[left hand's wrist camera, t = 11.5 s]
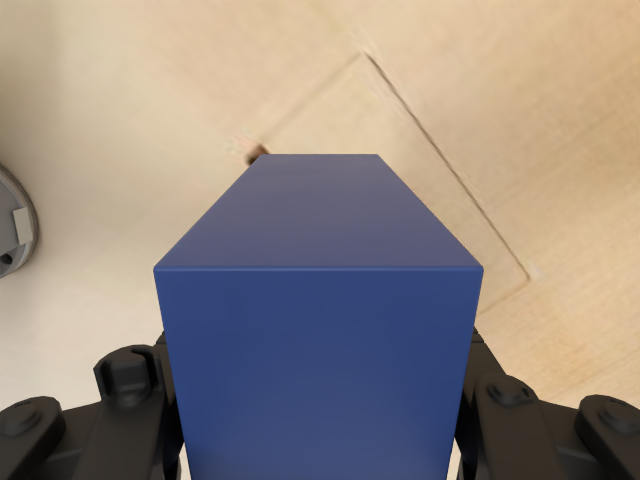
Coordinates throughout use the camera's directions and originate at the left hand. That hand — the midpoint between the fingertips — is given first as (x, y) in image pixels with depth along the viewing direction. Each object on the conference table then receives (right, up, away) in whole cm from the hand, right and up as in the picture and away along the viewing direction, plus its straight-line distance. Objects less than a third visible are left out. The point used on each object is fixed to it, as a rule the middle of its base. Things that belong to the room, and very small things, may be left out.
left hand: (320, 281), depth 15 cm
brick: (0, +1, +3) cm, 3 cm away
